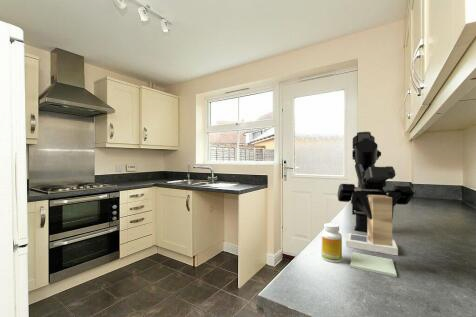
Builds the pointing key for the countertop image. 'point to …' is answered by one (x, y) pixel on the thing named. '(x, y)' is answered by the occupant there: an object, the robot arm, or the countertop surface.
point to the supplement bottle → (331, 243)
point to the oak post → (380, 220)
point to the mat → (373, 264)
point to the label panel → (369, 244)
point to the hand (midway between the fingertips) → (381, 219)
